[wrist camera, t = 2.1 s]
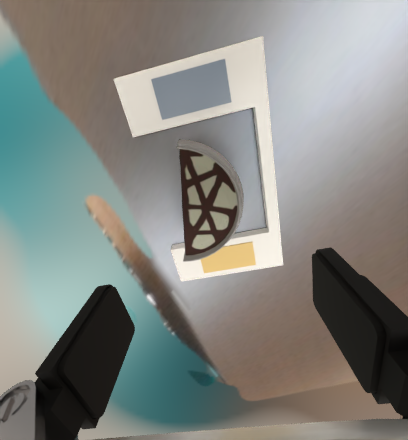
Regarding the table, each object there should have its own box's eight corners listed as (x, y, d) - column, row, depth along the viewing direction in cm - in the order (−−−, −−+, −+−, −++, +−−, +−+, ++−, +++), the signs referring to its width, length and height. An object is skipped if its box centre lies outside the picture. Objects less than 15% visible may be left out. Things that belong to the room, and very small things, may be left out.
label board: (259, 41, 22) (263, 35, 21) (280, 259, 33) (283, 265, 31) (119, 81, 24) (112, 78, 22) (182, 275, 35) (181, 282, 33)
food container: (232, 225, 31) (242, 266, 22) (191, 225, 31) (183, 266, 22) (237, 135, 26) (252, 139, 17) (187, 136, 26) (175, 140, 17)
